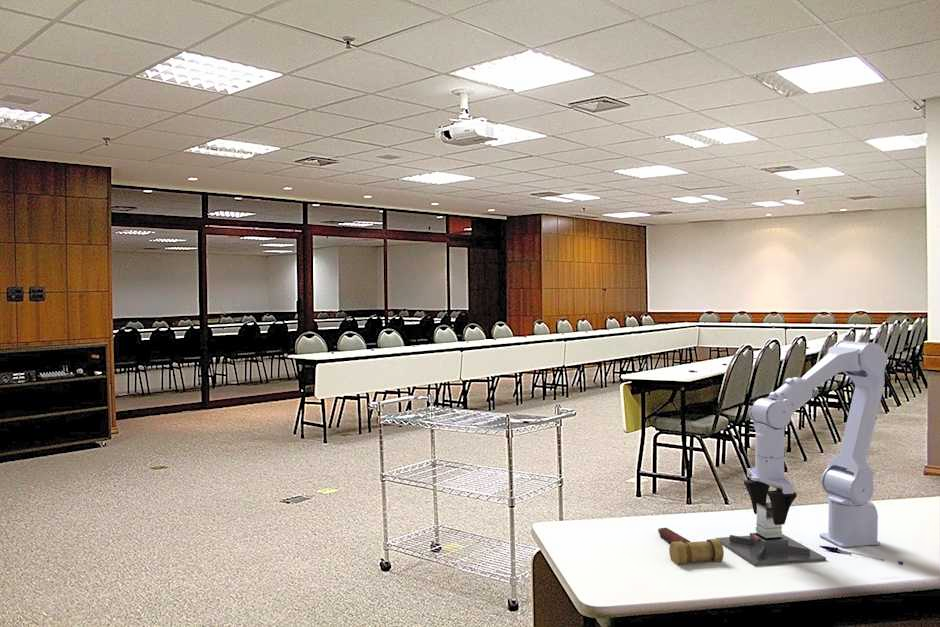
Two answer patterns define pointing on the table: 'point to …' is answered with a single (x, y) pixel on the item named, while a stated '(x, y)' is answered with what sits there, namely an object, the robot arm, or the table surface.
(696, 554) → the gavel
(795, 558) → the stand base
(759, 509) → the grey rectangular block
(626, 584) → the table surface
